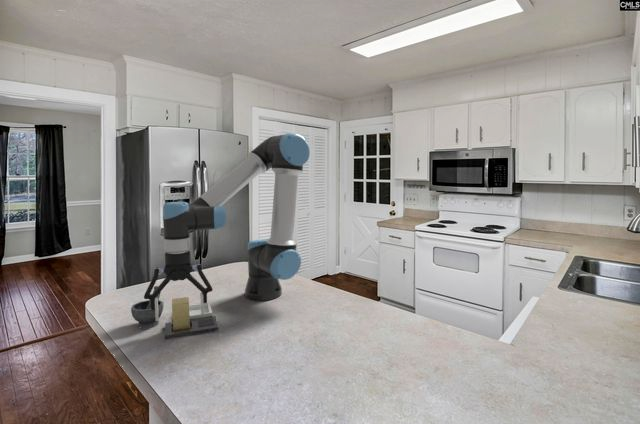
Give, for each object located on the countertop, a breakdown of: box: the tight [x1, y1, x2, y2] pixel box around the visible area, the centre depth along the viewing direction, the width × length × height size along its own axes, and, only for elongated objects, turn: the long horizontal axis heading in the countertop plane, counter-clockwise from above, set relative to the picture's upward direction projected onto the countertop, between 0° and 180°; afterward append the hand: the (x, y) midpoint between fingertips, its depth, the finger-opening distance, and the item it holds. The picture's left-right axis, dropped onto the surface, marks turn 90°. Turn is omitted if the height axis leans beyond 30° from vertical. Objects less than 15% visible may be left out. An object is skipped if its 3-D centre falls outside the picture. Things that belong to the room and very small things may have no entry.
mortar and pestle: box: [130, 285, 165, 329], centre depth 121 cm, size 11×9×12 cm
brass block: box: [171, 296, 191, 332], centre depth 116 cm, size 5×5×10 cm
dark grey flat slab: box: [164, 315, 220, 340], centre depth 118 cm, size 16×10×1 cm, turn 112°
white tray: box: [189, 301, 213, 319], centre depth 129 cm, size 11×11×2 cm
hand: (180, 315), depth 116 cm, fingers open, 13 cm apart
